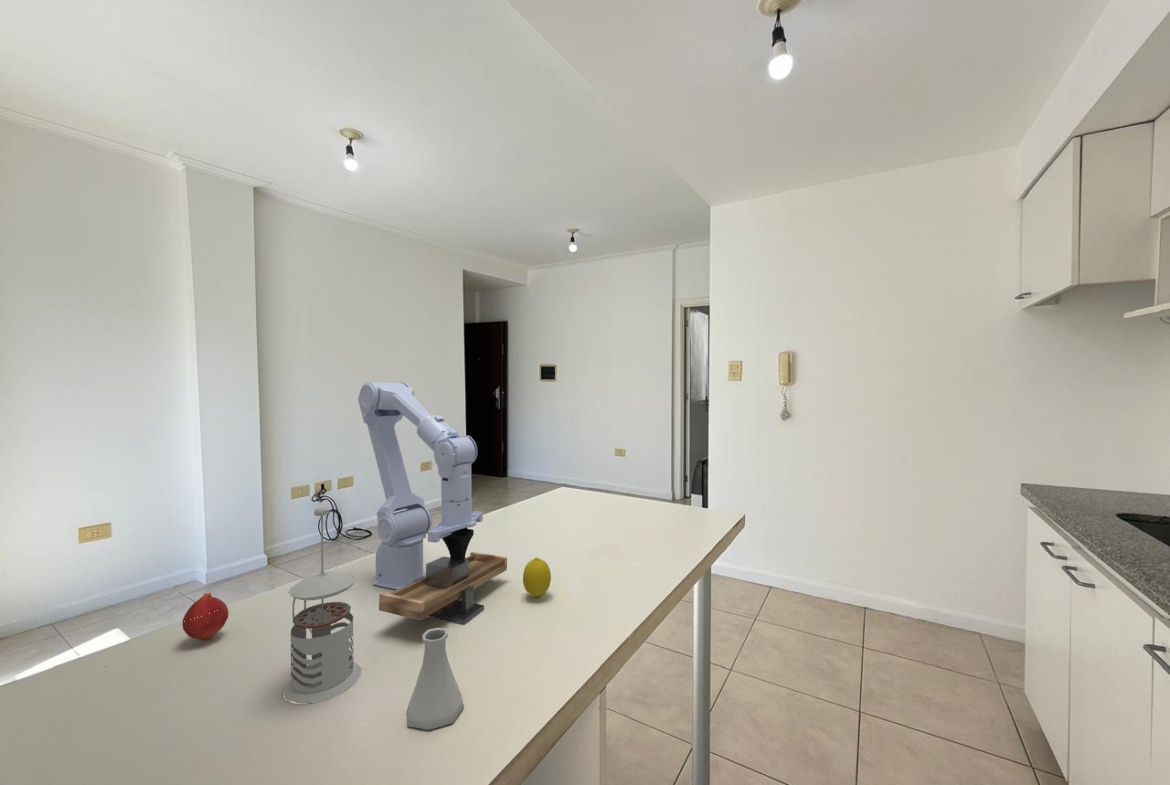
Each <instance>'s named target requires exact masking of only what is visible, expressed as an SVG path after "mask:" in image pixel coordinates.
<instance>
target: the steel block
mask: <svg viewBox="0 0 1170 785" xmlns="http://www.w3.org/2000/svg"><path fill="white" fill-rule="evenodd" d="M425 564H426V565H425V574H426V586H430V587H435V588H440V589H447V588H449V587H451V586H453V585H455V584H457V583H458V582H460V581H462V580H464V579H466V578H468V575H469V560H463V559H457V558H451V557H450V556H441V557H439V558H437V559H435V560H432V561H430V562H427V563H425Z"/></svg>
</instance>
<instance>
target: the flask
mask: <svg viewBox="0 0 1170 785" xmlns="http://www.w3.org/2000/svg"><path fill="white" fill-rule="evenodd" d="M448 636H449V634H448V629H447V628H442V627H436V628H430V629H427V630H426V631H425V632H424V633H423V634H422V635H421V637H422V643H423V645H424V653H423V658H422V663H421V668H420V671H419V673H418V677H417V680H416V682H415V683H416V684H415V686H414V689H413V690H412V691H413V692H412V694H411V697H410V700H409V703H408V706H407V708H406V723H407V724H406V725H407V727H410V728H411V727H412V728H416V729H421V730H427V731H430V730H433V729H436V728H440V727H443V726H447V725H451V724H453V723H454V722H455V721H456V719H457V718H458V716H459V715H460V714H461V712H462V711H463V710H464V708H465V705H464V701H463V697H462V693H461V690H460V688H459V685H458V683H457V681H456V678H455V675H454V673H453V670H452V667H451V664H450V662H449V660H448V655H447V648H446V645H447V644H446V641H447V639H448Z"/></svg>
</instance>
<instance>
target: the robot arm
mask: <svg viewBox="0 0 1170 785" xmlns="http://www.w3.org/2000/svg"><path fill="white" fill-rule="evenodd" d="M357 401H358V403H359V404H358V405H359V410H360V412H361V416H362V419H363V423H364V424H366V425H367V429H368V434H369V436H370V438H369V439H370V441H371V445H372V449H373V453H374V457H375V461H376V464H377V468H378V472H379V477H380V481H381V483H382V489H383V492H384V496H385V501H384V502H383V504H382V505H381V506H380V507H379V509H378V510H377V512H376V516H377V534H378V536H379V539H380V540H381V542H380V544H378V546H377V549H376V552H375V580H374V581H373V582H372V585H373V586H377V587H382V588H387V589H391V590H394V591H396V590H398V589H400V588H402V587H404V586H406V585H409V584H411V583H413V582H414V581H415V580H417V579H419V578H421V577H423V576H424V577H426V573H424V540H425V539H426V538H427V542H428V543H436V544H437V543H439V542H440V540H442V541H443V542H444V544H445V546H446V548H447V550H448V553H449V557H451V558H457V559H463V560H465V558H466V553H467V551H468V547H469V545H470V543H471V540H472V539H473V536H474V534H475V533H474V529H473V527H475V526H476V525H477V523H481V522H483V521H484V516H483V511H478V510H475V511H473V506H472V505H473V504H472V503H473V500H472V498H473V497H472V493H473V492H472V488H473V487H472V464H473V463H474V462H475V461H476V459H477V457H478V447H477V443H476V441H475V440H474V438H472V436H471V435H463V434H459V433H458V431H456V429H454V428H453V427H452V426H450V425H449V424H448V423H447V422H446V421H445V417H443V416H442V415H437V414H430V413H429V412H428V411H427V409H426V408H425V407H424V406H423V405H422V404H421V402H419V400H418V399H417V398H416V397H415V390H414V388H413V387H411V386H410V385H409V383H407V382H404V381H403V382H402V381H401V382H373V381H367V382H365V383H364V384H362V386H361V388H360V390H359V394H358V398H357ZM403 417H405V418H406V419H407V420H408V421H410V422H411V423H412V424H413V425H414V426H416V427H417V430H416V434H417V436H418V437H419V438H420V439H421V440H422V441H423V442H424V443H425V444H426V445H427V447H429V448H430V449H431V450H432V451H433V457H434V461H435V463H436V465H437V471H438V472H437V474H438V475H439V477H440V482H441V483H440V486H441V487H440V488H441V492H440V494H441V521H440V522H439V523H438V524H436V525H435V526H434V527H433V528H432V529H431V527H432V520H433V519H432V515H431V512H430V511H429V509H428V508H427V506H426V504H425V501H424V498H423V497H420V496H419V495H417V494H415V493H413V492H412V489H411V486H410V481H409V477H408V473H407V470H406V467H405V464H404V458H403V455H402V452H401V449H400V444H399V442H398V437H397V433H396V430H395V426H396V424H397V423H398V422H399V421H400V422H401V420H402V419H403Z"/></svg>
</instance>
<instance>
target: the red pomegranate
mask: <svg viewBox="0 0 1170 785" xmlns="http://www.w3.org/2000/svg"><path fill="white" fill-rule="evenodd" d="M217 610H218V611H217ZM214 611H215V612H214ZM185 612H186V613H185V614H184V616H183V618H182V624H181V625H182V630H183V631H184V633H185V634H186V635H187V636H188V637H191V638H192V639H196V640H200V641H204V642H206V641H210V640H211V639H212V638H213V637H214V636H215V635H216V634H217V633H218V632H219V631H221V629H223V627H224V626H225V624H226V622H227V620H228V618H229V613H230V612H229V609H228V606H227V604H226V603H225V601H223V600H221V599H220V598H218V597H215V596H212V593H211V591H207V592H205V593H204V594H203V595H201V597H200V598H198V599H197V600H195V602H193V603H192V605H190V607H189V608H188V610H187V611H185ZM209 613H210V614H209ZM201 616H202V617H201ZM197 617H198V618H197ZM194 618H195V619H194ZM190 619H191V620H190ZM184 621H185V622H184Z"/></svg>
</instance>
